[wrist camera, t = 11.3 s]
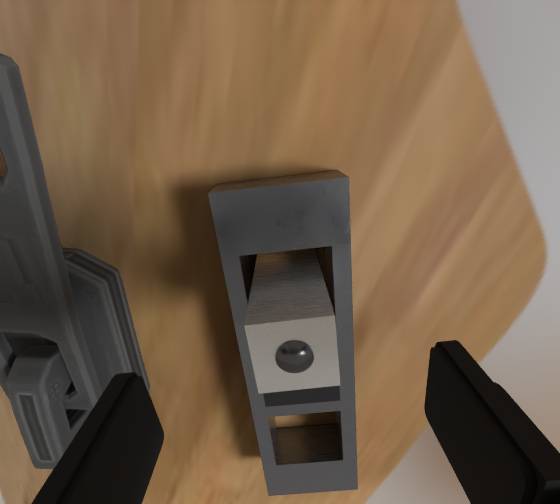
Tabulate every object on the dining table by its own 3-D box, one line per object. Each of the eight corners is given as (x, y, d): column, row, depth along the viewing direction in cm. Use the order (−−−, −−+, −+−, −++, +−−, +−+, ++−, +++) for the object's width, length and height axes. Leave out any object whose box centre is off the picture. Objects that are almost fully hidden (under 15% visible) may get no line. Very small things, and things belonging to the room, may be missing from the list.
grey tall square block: (257, 251, 19) (244, 326, 12) (313, 244, 19) (335, 316, 12) (266, 300, 21) (258, 395, 13) (318, 293, 20) (340, 386, 13)
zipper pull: (8, 31, 10) (113, 510, 19) (114, 70, 16) (154, 417, 25) (-287, 6, 9) (-34, 504, 18) (-62, 56, 15) (44, 411, 25)
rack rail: (219, 183, 18) (207, 193, 15) (337, 170, 17) (349, 177, 15) (269, 457, 26) (268, 496, 24) (349, 451, 26) (357, 490, 23)
